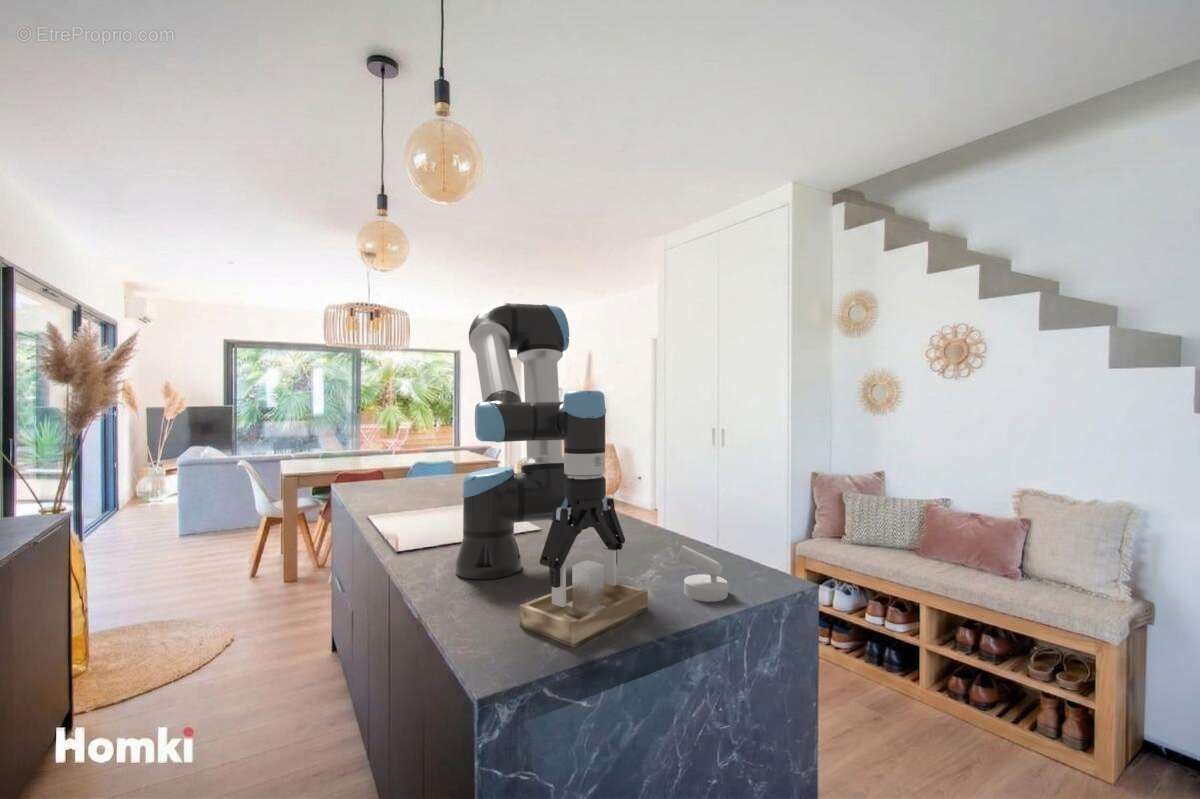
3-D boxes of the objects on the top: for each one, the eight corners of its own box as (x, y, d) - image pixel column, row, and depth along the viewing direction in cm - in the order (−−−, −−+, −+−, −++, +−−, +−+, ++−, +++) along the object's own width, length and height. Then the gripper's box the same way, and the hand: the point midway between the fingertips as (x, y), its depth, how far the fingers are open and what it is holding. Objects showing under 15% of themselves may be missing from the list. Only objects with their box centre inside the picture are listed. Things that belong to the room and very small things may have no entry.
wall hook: (677, 539, 111) (726, 541, 109) (678, 584, 111) (726, 587, 109) (675, 550, 103) (727, 553, 101) (675, 599, 103) (728, 603, 101)
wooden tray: (519, 625, 91) (519, 605, 91) (595, 593, 106) (595, 576, 106) (573, 647, 83) (573, 625, 83) (647, 609, 98) (647, 590, 98)
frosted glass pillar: (564, 612, 95) (564, 563, 95) (579, 606, 98) (579, 558, 98) (597, 624, 90) (597, 572, 90) (612, 617, 93) (612, 566, 93)
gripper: (549, 486, 83) (550, 621, 83) (642, 470, 102) (643, 580, 102) (518, 481, 88) (518, 609, 88) (612, 467, 107) (613, 572, 106)
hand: (585, 594), depth 95 cm, fingers open, 13 cm apart
